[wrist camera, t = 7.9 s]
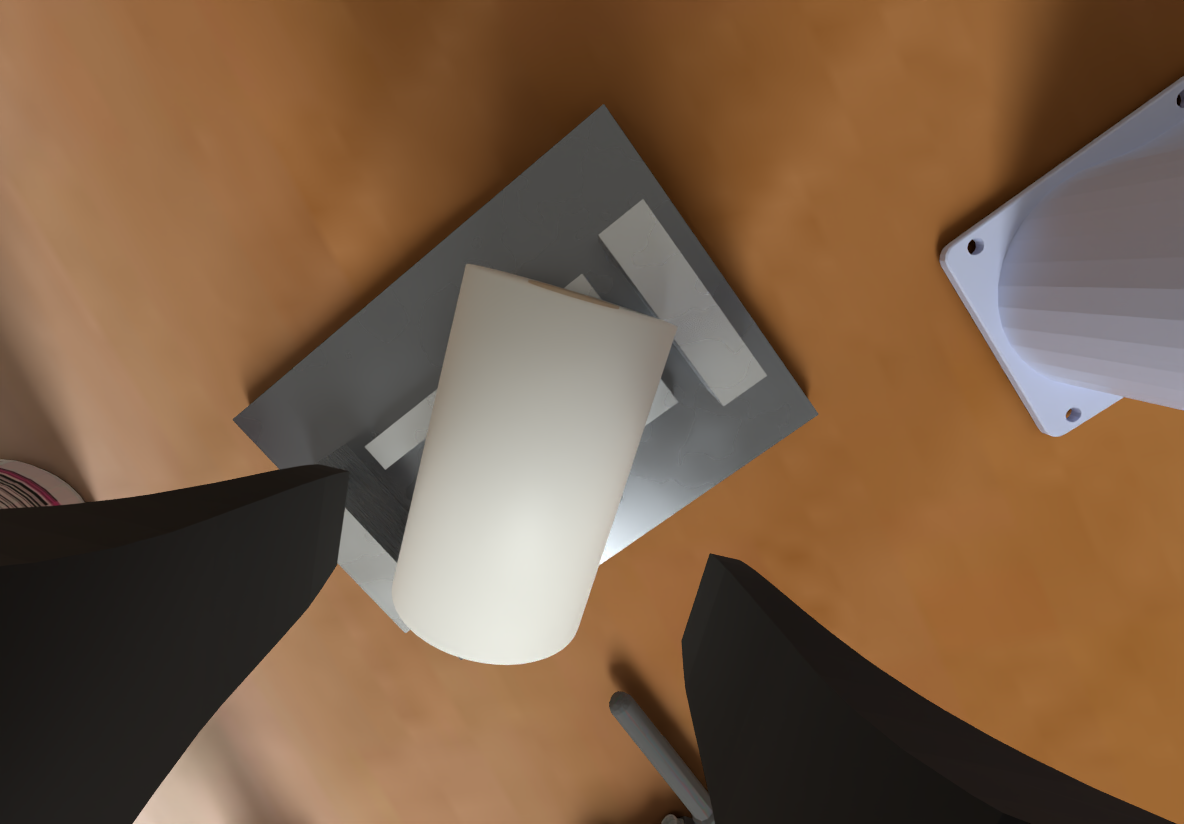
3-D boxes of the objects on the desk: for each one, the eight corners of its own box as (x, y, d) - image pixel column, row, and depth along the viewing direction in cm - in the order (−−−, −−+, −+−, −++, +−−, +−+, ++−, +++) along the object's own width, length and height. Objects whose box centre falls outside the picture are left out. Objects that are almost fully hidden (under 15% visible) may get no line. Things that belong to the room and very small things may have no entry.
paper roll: (465, 257, 16) (467, 268, 11) (639, 308, 17) (714, 339, 12) (402, 535, 18) (377, 656, 13) (562, 558, 19) (597, 674, 14)
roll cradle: (603, 113, 17) (604, 73, 14) (807, 407, 19) (851, 435, 16) (250, 412, 20) (177, 441, 16) (467, 642, 22) (443, 710, 18)
